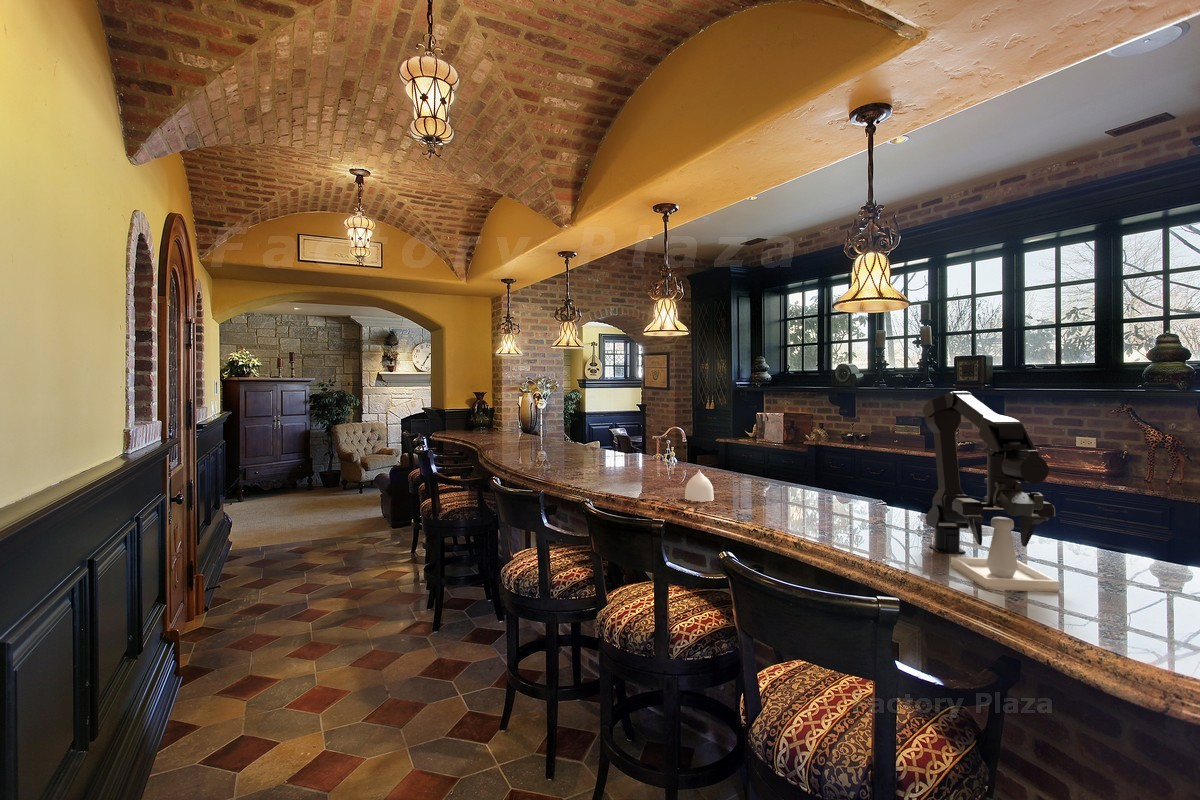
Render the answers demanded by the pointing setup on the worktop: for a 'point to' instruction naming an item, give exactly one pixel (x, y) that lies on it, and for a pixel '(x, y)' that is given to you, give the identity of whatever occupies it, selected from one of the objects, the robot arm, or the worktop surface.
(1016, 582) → the tray
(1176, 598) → the worktop surface
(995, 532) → the salt shaker
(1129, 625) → the worktop surface
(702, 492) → the teardrop
